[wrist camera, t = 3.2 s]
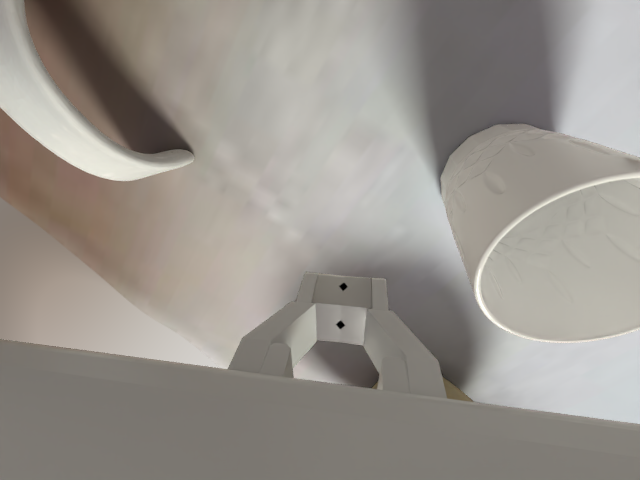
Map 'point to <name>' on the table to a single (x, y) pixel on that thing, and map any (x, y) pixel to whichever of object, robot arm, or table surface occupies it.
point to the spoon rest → (63, 111)
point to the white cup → (547, 232)
